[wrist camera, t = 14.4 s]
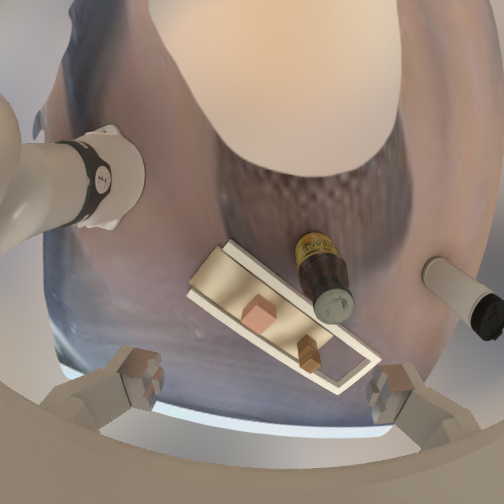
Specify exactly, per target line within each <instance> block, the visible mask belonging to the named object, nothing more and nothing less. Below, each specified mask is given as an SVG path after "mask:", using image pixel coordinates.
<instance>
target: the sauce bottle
mask: <svg viewBox="0 0 504 504" xmlns="http://www.w3.org/2000/svg"><path fill="white" fill-rule="evenodd" d="M295 257H296V263H297V270H298V277H299V280H300V286H301V288H302V291H303V292H304V294H305V296H307V297H308V298H310V299H311V300H313V310H314V313H315V315H316V317H317V319H319V320H320V321H321V322H322V323H325V324H329V325H331V324H332V325H336V324H340V323H342V322H344V321H345V320H346V319H347V318H349V317H350V315H351V314H352V312H353V309H354V300H353V297H352V294H351V292H350V290H349V289H348V287H349V280H348V274H347V267H346V264H345V262H344V260H343V258H342V257H341V255H340V253H339V252H338V250H337V249H336V247H335V246H334V244H333V242H332V241H331V240H330V239H329V238H328V237H327V236H325V235H323V234H322V233H319V232H312V233H308V234H305V235H303V237H302V238H301V239H300V240H299V242H298V243H297V245H296V249H295Z"/></svg>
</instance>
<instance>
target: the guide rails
mask: <svg viewBox="0 0 504 504" xmlns="http://www.w3.org/2000/svg"><path fill="white" fill-rule="evenodd" d="M222 250H224V251H225V252H226V253H227V254H229V255H230V256H231V257H233V258H234V259H235V260H236V261H238V262H239V263H240V264H242V265H243V266H244V267H246V268H247V269H248V270H249V271H251V272H252V273H253V274H255V275H256V276H257V277H259V278H260V279H261V280H263V281H264V282H265V283H266V284H268V285H269V286H270V287H272V288H273V289H274V290H276V291H277V292H278V293H280V294H281V295H282V296H284V297H285V298H286V299H288V300H289V301H290V302H292V303H293V304H294V305H296V306H297V307H298V308H300V309H301V310H302V311H304V312H305V313H306V314H308V315H309V316H310V317H312V318H313V319H314V320H316V321H317V322H318V323H320V324H321V325H322V326H324V327H325V328H326V329H328V330H329V331H330V332H332V333H333V334H334V335H336V336H337V337H339V338H340V339H341V340H343V341H344V342H345V343H347V344H348V345H349V346H351V347H352V348H353V349H355V350H356V351H358V352H359V353H360V354H362V355H363V356H364V357H366V358H365V359H364V360H363V361H362V362H361V363H360V364H359V365H357V366H356V367H355V368H354V369H353V370H351V371H350V372H349V373H348V374H347V375H345V376H344V377H343V378H342V379H340V380H339V381H338V382H336V381H335V380H333V379H331V378H330V377H328V376H326V375H325V374H323V373H321V372H320V371H318V370H317V369H316V370H315V371H314V372H313V373H311V374H309V373H308V372H306V371H305V370H303V369H301V368H300V365H299V360H298V359H297V358H295V357H294V356H292V355H291V354H289V353H287V352H286V351H284V350H283V349H281V348H280V347H278V346H277V345H275V344H274V343H272V342H271V341H269V340H268V339H266V338H265V337H263V336H262V335H259V334H257V333H256V332H254V331H253V330H251V329H250V328H249V327H247V326H246V325H244V324H243V323H241V322H240V320H239V319H237V318H236V317H235V316H233V315H232V314H230V313H229V312H228V311H226V310H225V309H224V308H222V307H221V306H219V305H218V304H217V303H215V302H214V301H213V300H211V299H210V298H209V297H207V296H206V295H204V294H203V293H202V292H200V291H199V290H198V289H196V288H195V287H194V286H193V287H192V288H191V289H190V291H189V292H188V294H187V295H186V296H187V297H188V298H190V299H191V300H192V301H194V302H195V303H196V304H198V305H199V306H200V307H202V308H203V309H205V310H206V311H207V312H209V313H210V314H211V315H213V316H214V317H216V318H217V319H218V320H220V321H221V322H223V323H224V324H226V325H227V326H228V327H230V328H231V329H233V330H234V331H236V332H237V333H239V334H240V335H241V336H243V337H244V338H246V339H247V340H249V341H250V342H252V343H253V344H255V345H256V346H258V347H259V348H261V349H262V350H264V351H266V352H267V353H269V354H270V355H272V356H273V357H275V358H276V359H278V360H280V361H281V362H283V363H284V364H286V365H288V366H289V367H291V368H292V369H294V370H296V371H297V372H299V373H301V374H302V375H304V376H305V377H307V378H309V379H311V380H312V381H314V382H316V383H317V384H319V385H321V386H322V387H324V388H326V389H328V390H329V391H331V392H333V393H335V394H336V395H339V394H340V393H342V392H343V391H344V390H346V389H347V388H348V387H349V386H351V385H352V384H353V383H354V382H356V381H357V380H358V379H359V378H361V377H362V376H363V375H364V374H366V373H367V372H368V371H369V370H370V369H371V368H373V367H374V366H375V365H376V364H377V363H378V362H380V361H381V360H382V359H381V357H380V355H379V354H378V353H377V352H376V351H374V350H373V349H372V348H371V347H369V346H368V345H367V344H365V343H364V342H363V341H362V340H360V339H359V338H358V337H356V336H355V335H354V334H352V333H351V332H350V331H349V330H347V329H346V328H345V327H343V326H342V325H341V324H336V325H332V324H331V325H329V324H325V323H322V322H321V321H320V320H319V319H317V317H316V315H315V313H314V310H313V303H312V302H311V301H310V300H309V299H307V298H306V297H305V296H303V295H302V294H301V293H300V292H298V291H297V290H296V289H294V288H293V287H292V286H291V285H289V284H288V283H287V282H285V281H284V280H283V279H282V278H280V277H279V276H278V275H276V274H275V273H274V272H273V271H271V270H270V269H269V268H267V267H266V266H265V265H264V264H262V263H261V262H260V261H258V260H257V259H256V258H255V257H253V256H252V255H251V254H249V253H248V252H247V251H246V250H244V249H243V248H242V247H240V246H239V245H238V244H237V243H235V242H234V241H233V240H231V239H230V240H229V241H228V242H227V244H226V245H225V246H224V248H223V249H222Z"/></svg>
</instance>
